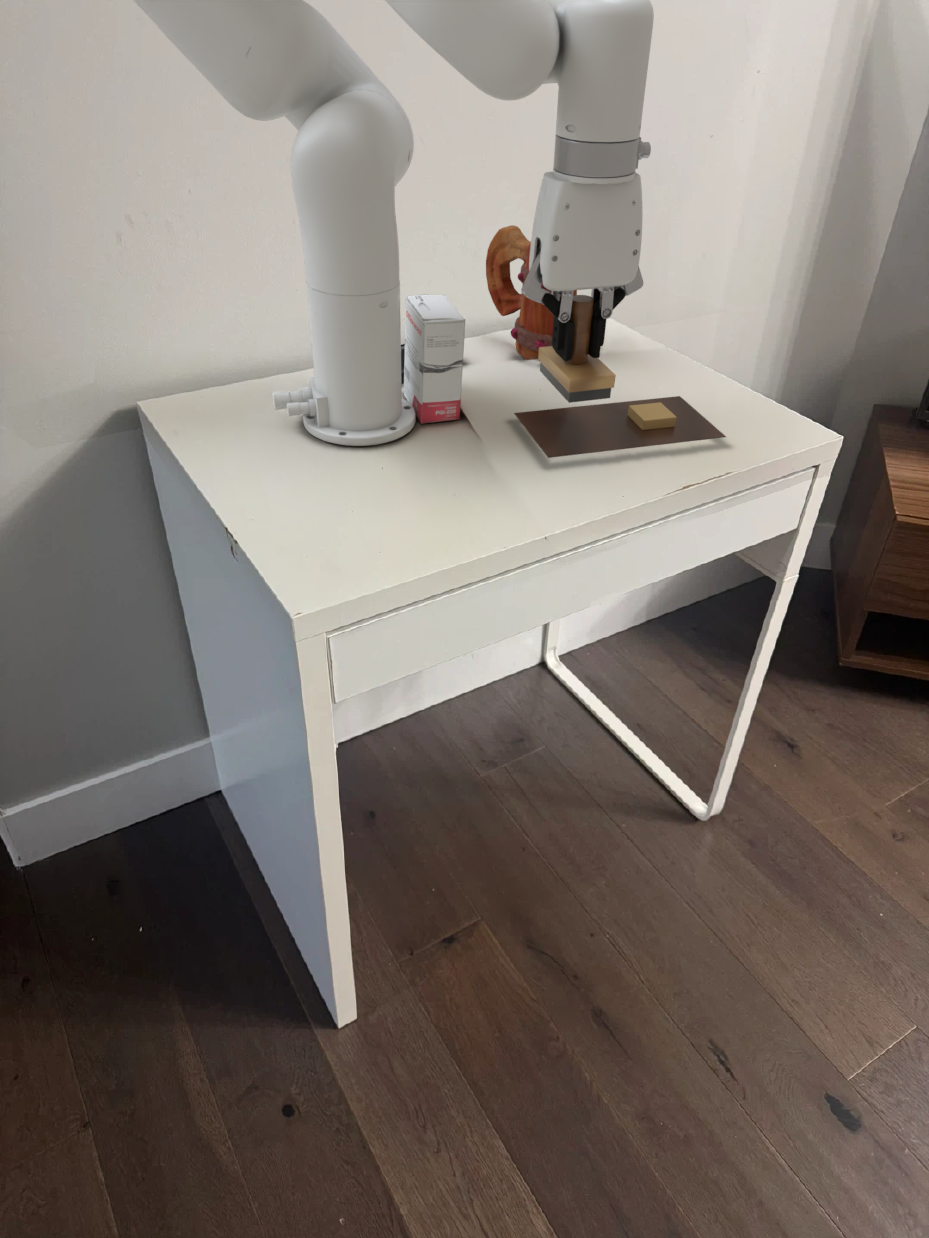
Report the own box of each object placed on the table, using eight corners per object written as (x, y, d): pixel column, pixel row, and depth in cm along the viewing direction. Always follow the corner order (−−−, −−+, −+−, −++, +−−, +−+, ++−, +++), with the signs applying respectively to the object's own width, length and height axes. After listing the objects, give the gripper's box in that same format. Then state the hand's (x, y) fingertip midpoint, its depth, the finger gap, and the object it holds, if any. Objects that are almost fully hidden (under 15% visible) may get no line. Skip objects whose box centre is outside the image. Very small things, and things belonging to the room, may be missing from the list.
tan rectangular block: (642, 430, 97) (644, 420, 97) (627, 415, 100) (628, 405, 100) (675, 426, 98) (676, 417, 97) (658, 411, 101) (660, 402, 100)
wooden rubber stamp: (567, 404, 89) (575, 315, 84) (537, 370, 96) (542, 286, 91) (612, 398, 91) (623, 311, 85) (579, 366, 97) (587, 283, 92)
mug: (590, 359, 116) (604, 239, 107) (551, 376, 111) (562, 252, 102) (507, 329, 124) (513, 216, 115) (467, 344, 119) (471, 226, 110)
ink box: (463, 421, 101) (466, 317, 93) (420, 425, 99) (420, 320, 92) (442, 390, 107) (444, 291, 100) (402, 394, 106) (401, 294, 98)
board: (547, 467, 92) (548, 457, 92) (513, 422, 101) (513, 412, 100) (724, 446, 97) (726, 436, 97) (678, 405, 106) (679, 395, 105)
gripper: (656, 147, 85) (631, 335, 96) (498, 154, 81) (491, 349, 92) (694, 163, 79) (663, 360, 90) (525, 171, 75) (515, 376, 87)
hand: (576, 353), depth 91 cm, fingers closed on wooden rubber stamp, 2 cm apart
